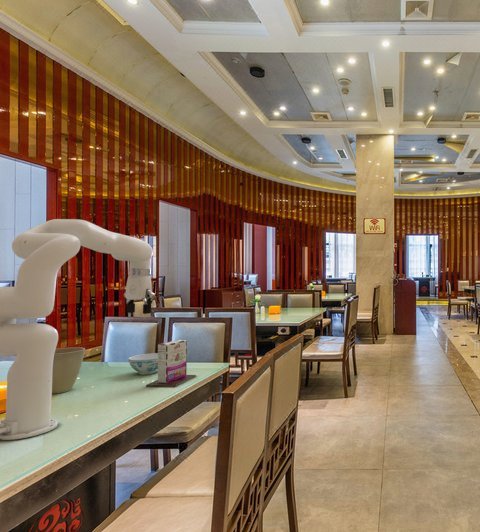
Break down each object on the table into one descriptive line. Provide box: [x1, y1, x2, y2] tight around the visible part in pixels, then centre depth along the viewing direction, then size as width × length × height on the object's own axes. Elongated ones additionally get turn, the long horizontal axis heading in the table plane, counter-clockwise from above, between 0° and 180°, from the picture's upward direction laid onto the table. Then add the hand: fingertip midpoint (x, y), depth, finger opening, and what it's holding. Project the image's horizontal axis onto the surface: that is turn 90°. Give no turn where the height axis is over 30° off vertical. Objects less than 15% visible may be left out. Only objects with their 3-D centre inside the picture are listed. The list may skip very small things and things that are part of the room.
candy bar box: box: [157, 339, 188, 383], centre depth 162 cm, size 11×5×16 cm, turn 168°
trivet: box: [145, 374, 197, 388], centre depth 162 cm, size 16×12×1 cm
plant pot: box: [52, 347, 86, 395], centre depth 147 cm, size 15×15×16 cm
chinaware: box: [128, 352, 158, 376], centre depth 176 cm, size 15×15×8 cm
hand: (138, 313), depth 160 cm, fingers open, 9 cm apart
